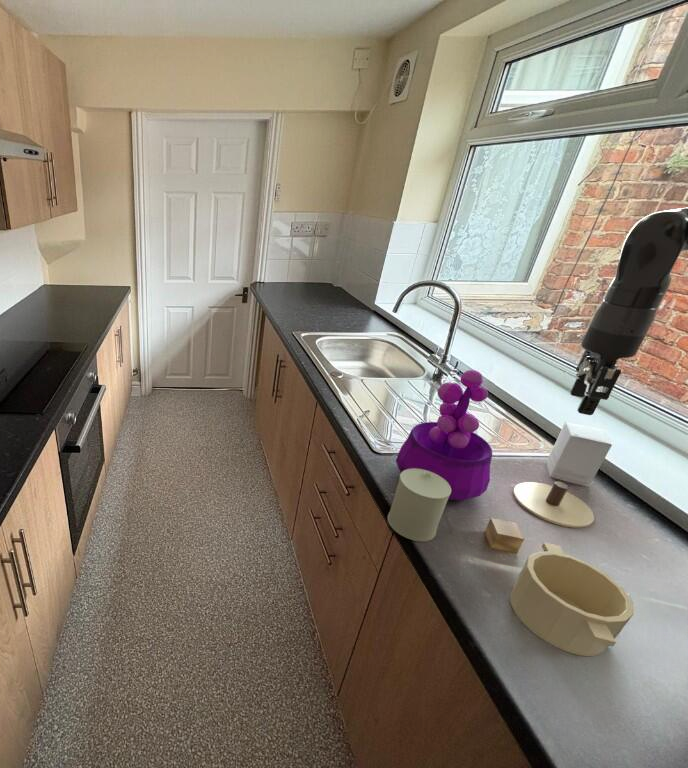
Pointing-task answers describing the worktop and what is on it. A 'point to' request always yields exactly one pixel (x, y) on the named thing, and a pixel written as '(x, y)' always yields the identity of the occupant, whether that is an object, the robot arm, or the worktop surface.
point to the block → (504, 535)
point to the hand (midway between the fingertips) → (580, 404)
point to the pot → (570, 602)
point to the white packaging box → (578, 454)
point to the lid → (553, 504)
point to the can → (418, 504)
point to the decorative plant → (452, 441)
